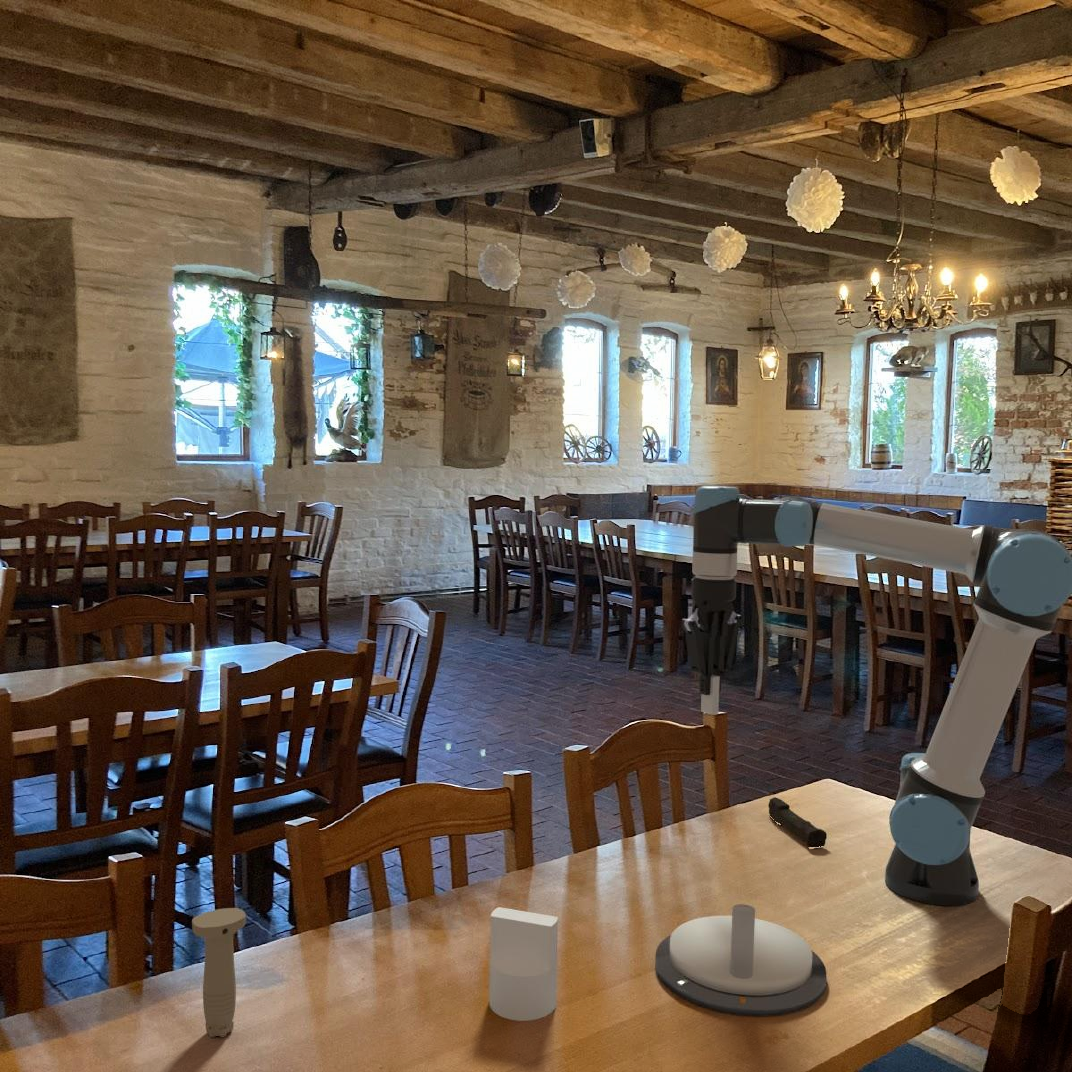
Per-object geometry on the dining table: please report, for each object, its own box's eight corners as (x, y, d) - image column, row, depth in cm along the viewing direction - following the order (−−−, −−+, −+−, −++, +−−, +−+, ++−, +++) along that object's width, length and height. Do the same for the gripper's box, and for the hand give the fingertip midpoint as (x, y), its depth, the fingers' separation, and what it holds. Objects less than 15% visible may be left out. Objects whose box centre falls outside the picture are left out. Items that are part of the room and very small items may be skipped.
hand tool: (827, 850, 200) (828, 826, 200) (807, 851, 199) (808, 827, 199) (781, 816, 219) (782, 793, 218) (763, 817, 218) (764, 794, 217)
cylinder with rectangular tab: (564, 993, 146) (566, 908, 145) (543, 1026, 137) (545, 936, 136) (503, 981, 148) (504, 898, 147) (479, 1013, 140) (480, 925, 139)
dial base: (787, 930, 166) (788, 918, 166) (855, 1010, 142) (855, 998, 142) (637, 937, 162) (638, 926, 162) (681, 1021, 139) (681, 1008, 139)
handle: (188, 1030, 134) (187, 916, 133) (238, 1016, 138) (238, 904, 137) (199, 1049, 130) (199, 931, 129) (251, 1033, 134) (250, 918, 133)
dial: (672, 922, 164) (674, 853, 163) (805, 935, 160) (808, 864, 159) (666, 987, 144) (668, 908, 143) (818, 1002, 141) (821, 922, 140)
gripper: (724, 572, 188) (720, 703, 190) (670, 576, 180) (666, 713, 182) (756, 576, 182) (751, 712, 184) (702, 581, 174) (698, 722, 176)
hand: (709, 712), depth 183 cm, fingers closed
